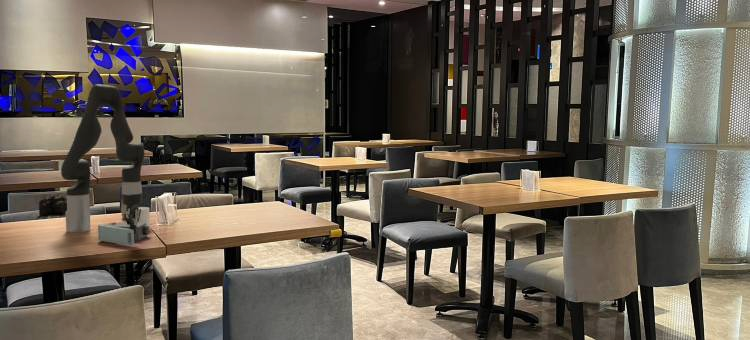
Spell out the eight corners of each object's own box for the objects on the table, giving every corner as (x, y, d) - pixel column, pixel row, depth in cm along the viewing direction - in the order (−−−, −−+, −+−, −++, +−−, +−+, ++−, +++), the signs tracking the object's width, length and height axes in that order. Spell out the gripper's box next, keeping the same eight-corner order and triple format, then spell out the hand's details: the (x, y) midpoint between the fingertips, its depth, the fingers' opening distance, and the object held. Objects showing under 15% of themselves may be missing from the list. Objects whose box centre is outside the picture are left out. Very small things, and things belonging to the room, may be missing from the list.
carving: (139, 218, 293) (138, 195, 292) (127, 220, 286) (126, 197, 285) (131, 217, 296) (130, 194, 295) (118, 219, 289) (118, 196, 288)
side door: (96, 240, 238) (95, 225, 237) (100, 239, 239) (99, 224, 239) (130, 246, 228) (129, 230, 227) (134, 245, 230) (133, 229, 229)
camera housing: (101, 240, 240) (100, 225, 240) (109, 236, 249) (109, 221, 249) (142, 240, 241) (142, 225, 240) (149, 236, 250) (149, 221, 249)
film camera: (59, 216, 298) (58, 197, 298) (36, 215, 298) (35, 197, 298) (77, 210, 316) (76, 193, 315) (55, 210, 316) (54, 192, 315)
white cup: (132, 231, 260) (132, 210, 259) (131, 228, 267) (130, 207, 266) (151, 230, 263) (150, 209, 262) (149, 227, 270) (148, 206, 269)
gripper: (128, 190, 237) (130, 230, 239) (116, 194, 224) (117, 237, 226) (146, 190, 237) (148, 230, 239) (135, 194, 224) (136, 237, 226)
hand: (133, 233), depth 232 cm, fingers closed
